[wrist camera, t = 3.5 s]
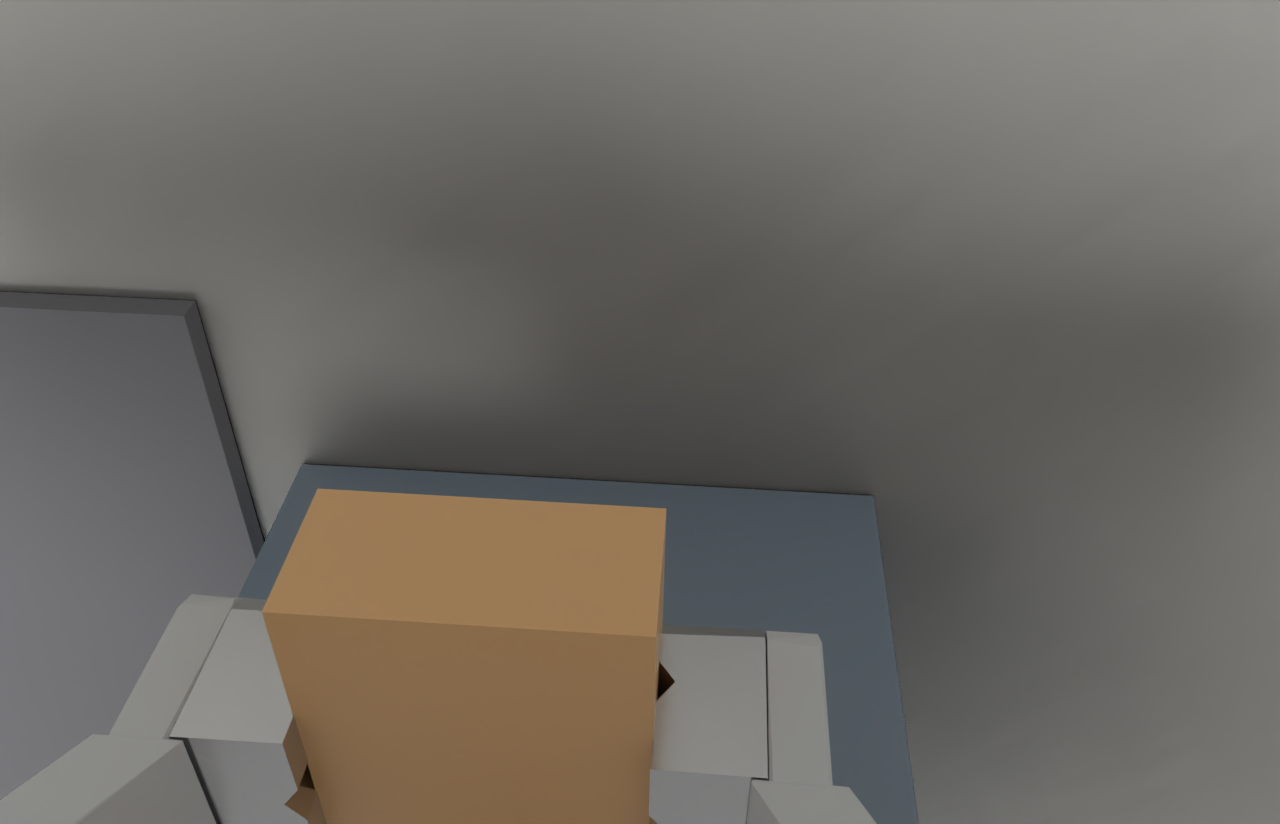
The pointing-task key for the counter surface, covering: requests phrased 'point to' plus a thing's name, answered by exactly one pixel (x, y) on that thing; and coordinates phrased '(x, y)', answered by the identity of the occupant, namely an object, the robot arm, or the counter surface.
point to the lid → (473, 657)
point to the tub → (722, 588)
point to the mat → (104, 507)
